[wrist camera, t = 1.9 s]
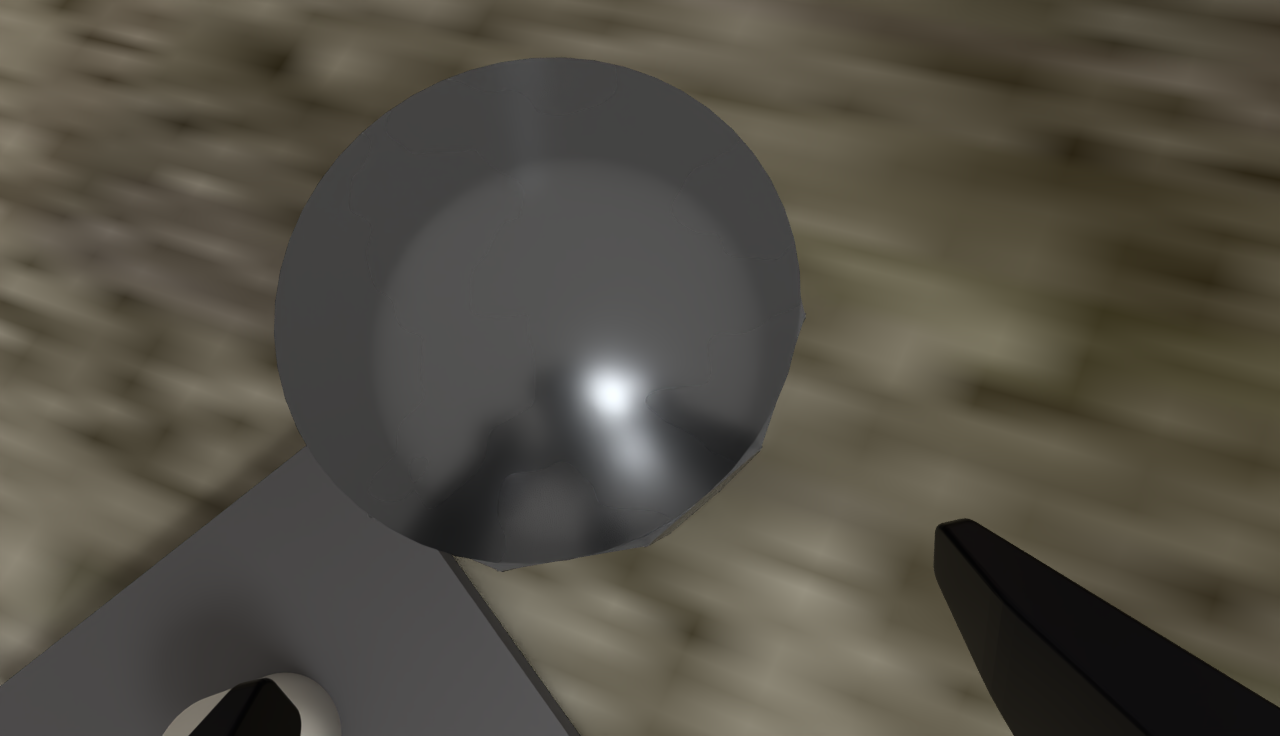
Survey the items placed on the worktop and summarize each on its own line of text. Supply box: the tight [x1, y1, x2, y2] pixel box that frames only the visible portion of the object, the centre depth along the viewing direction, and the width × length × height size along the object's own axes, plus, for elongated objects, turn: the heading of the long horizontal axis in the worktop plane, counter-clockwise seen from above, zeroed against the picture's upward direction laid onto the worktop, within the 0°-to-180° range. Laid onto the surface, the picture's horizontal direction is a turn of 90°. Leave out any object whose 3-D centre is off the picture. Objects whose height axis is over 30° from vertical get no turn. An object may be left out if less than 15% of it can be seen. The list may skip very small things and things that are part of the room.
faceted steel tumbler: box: [274, 58, 806, 572], centre depth 15 cm, size 7×7×12 cm
